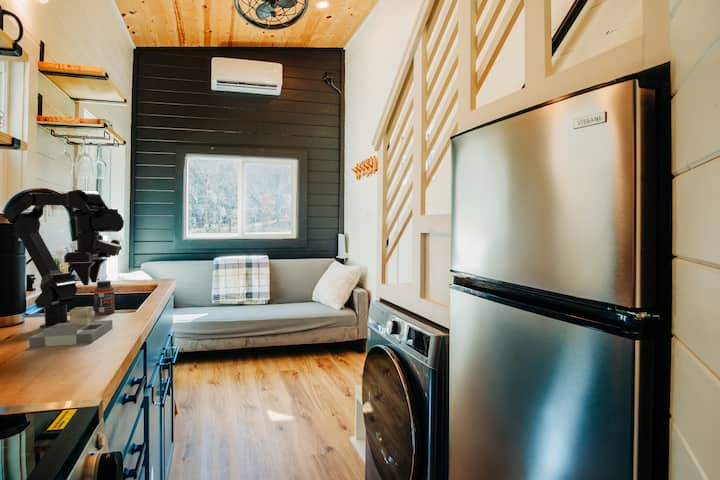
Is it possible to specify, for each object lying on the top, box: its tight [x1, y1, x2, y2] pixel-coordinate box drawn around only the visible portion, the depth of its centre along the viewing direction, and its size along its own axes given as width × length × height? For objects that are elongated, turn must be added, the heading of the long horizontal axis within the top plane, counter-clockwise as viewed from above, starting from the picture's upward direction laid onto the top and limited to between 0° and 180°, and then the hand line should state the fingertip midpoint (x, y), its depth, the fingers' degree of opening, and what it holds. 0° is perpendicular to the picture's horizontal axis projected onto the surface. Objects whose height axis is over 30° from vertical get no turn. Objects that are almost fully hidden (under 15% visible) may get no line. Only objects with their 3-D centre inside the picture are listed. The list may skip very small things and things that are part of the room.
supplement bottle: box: [93, 280, 116, 316], centre depth 147 cm, size 6×6×11 cm
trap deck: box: [28, 319, 113, 349], centre depth 116 cm, size 16×14×4 cm
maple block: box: [69, 305, 95, 326], centre depth 122 cm, size 4×4×4 cm
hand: (90, 283), depth 128 cm, fingers open, 6 cm apart
